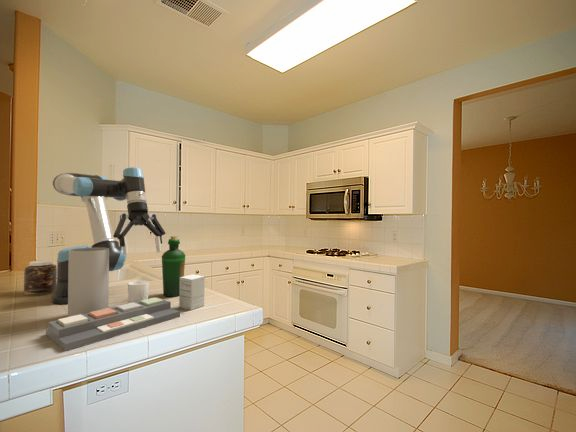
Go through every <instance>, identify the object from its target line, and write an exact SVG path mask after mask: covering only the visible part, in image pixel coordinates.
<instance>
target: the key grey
mask: <svg viewBox="0 0 576 432" xmlns="http://www.w3.org/2000/svg"><path fill="white" fill-rule="evenodd" d="M115 307H116V310H119V311H121V312H123V313H124V312H128V311H132V310H136V309H140V308H141V305H139V304H137V303H134V302H133V303H129V302H128V303H124V304H120V305H116V306H115Z"/></svg>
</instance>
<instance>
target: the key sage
mask: <svg viewBox="0 0 576 432" xmlns="http://www.w3.org/2000/svg"><path fill="white" fill-rule="evenodd" d="M158 298H159V297H150V298H148V299H146V300H141V301H140V304H142V305H145V306H147V307H148V306H152V305H156V304H160V303H163V300H164V299H163V300H161V299H162V298H160V299H158Z"/></svg>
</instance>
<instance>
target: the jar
mask: <svg viewBox="0 0 576 432" xmlns="http://www.w3.org/2000/svg"><path fill="white" fill-rule="evenodd" d="M28 263H29V264H28V265H27V266H25V267H24V270H23V271H24V272H23V274H24V275H23V295H24V296H27V297H35V296H37V297H38V296H46V295H49V294H53V293H54V290H55V288H56V285H57V265H56V264H54V263H53V260H50V259H49V260H47V259H44V260H43V259H42V260H35V261H34V260H33V261H29V262H28Z"/></svg>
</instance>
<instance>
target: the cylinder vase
mask: <svg viewBox="0 0 576 432" xmlns="http://www.w3.org/2000/svg"><path fill="white" fill-rule="evenodd" d="M109 280H110V271H109V248H91V247H90V248H79V249H71V250H69V266H68V304H67V317H71V316H75V315H79V314H81V315H82V314H87V313H89V312H93V311H97V310H102V309H106V308H109V288H110V287H109V285H110V281H109Z"/></svg>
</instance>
